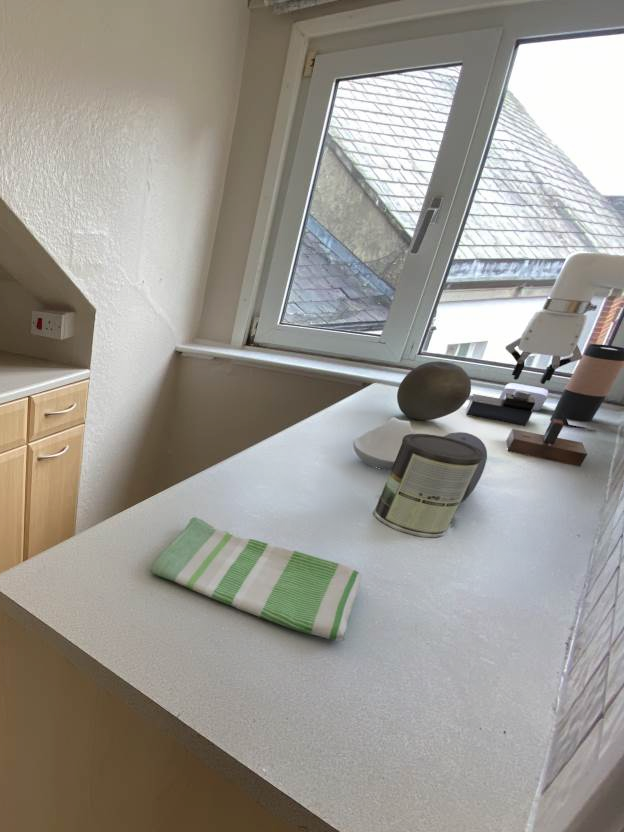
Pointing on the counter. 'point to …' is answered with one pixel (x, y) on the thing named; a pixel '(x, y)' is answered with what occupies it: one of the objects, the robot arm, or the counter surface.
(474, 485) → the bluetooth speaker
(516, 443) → the brown wooden block
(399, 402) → the dark brown rounded piece
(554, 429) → the browning knob
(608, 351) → the travel mug
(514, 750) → the counter surface
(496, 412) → the toaster
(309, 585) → the dish towel
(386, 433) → the spoon rest
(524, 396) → the toaster lever
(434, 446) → the coffee can
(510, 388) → the charger
